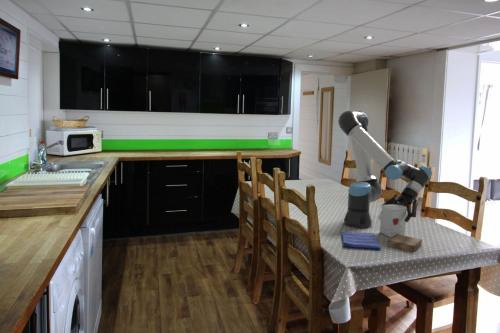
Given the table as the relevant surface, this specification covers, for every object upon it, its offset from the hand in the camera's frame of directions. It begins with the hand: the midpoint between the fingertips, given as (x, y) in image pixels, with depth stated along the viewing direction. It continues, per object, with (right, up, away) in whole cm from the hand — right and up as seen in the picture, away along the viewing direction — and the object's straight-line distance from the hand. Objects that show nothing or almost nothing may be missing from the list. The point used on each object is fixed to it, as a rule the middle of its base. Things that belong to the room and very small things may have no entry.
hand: (389, 222), depth 198 cm
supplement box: (+2, -7, +2) cm, 7 cm away
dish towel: (-18, -9, -9) cm, 22 cm away
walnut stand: (+2, -9, -15) cm, 17 cm away
